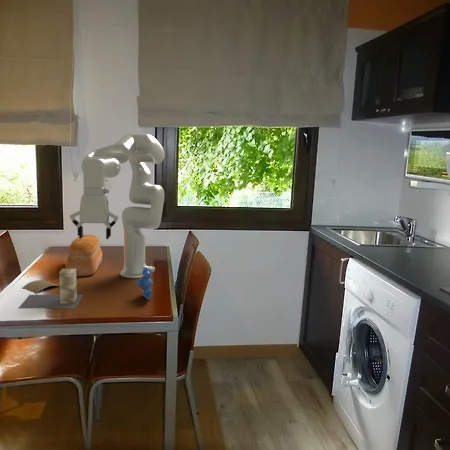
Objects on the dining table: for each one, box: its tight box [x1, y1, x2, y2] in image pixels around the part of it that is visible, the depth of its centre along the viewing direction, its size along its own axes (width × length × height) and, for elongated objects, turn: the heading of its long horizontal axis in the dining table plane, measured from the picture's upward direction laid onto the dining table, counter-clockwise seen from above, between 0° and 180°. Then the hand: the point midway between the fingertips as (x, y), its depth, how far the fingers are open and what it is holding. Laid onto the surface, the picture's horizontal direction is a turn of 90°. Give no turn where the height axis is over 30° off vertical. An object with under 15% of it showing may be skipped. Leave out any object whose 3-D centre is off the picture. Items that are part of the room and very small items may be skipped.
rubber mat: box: [18, 294, 84, 309], centre depth 165 cm, size 20×14×1 cm
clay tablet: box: [21, 279, 60, 295], centre depth 179 cm, size 14×10×3 cm
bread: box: [65, 234, 103, 277], centre depth 207 cm, size 14×26×15 cm, turn 7°
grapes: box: [135, 267, 154, 300], centre depth 173 cm, size 12×7×12 cm, turn 14°
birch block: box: [58, 268, 78, 304], centre depth 164 cm, size 5×5×12 cm
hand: (94, 238), depth 163 cm, fingers open, 9 cm apart
